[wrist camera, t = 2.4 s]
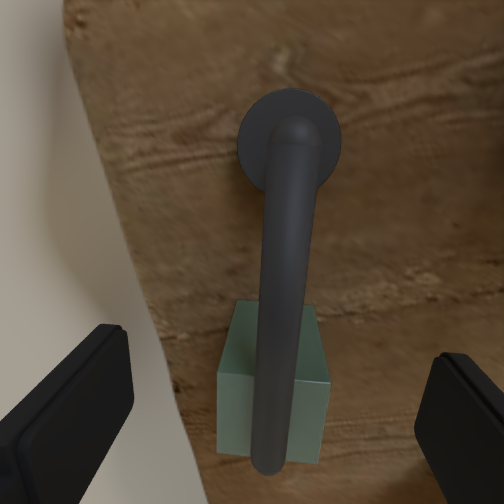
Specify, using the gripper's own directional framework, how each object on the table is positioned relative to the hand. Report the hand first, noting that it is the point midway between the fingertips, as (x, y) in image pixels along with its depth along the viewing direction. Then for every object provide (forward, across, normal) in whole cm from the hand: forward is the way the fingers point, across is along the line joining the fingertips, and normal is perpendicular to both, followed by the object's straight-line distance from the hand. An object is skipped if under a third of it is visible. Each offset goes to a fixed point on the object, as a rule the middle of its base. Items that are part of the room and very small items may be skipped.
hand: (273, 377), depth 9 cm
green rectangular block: (+10, 0, +5) cm, 11 cm away
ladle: (+10, 0, -1) cm, 10 cm away
